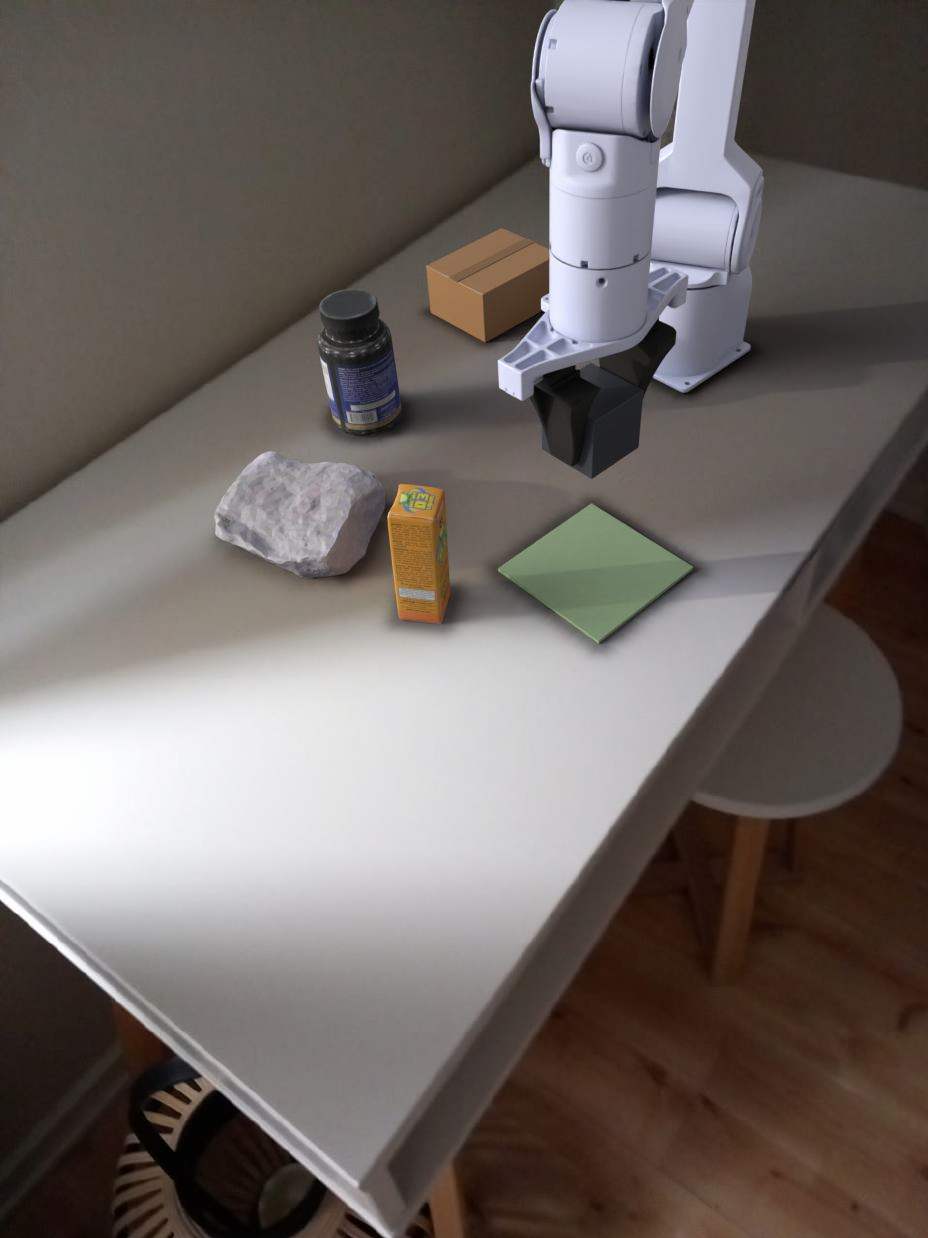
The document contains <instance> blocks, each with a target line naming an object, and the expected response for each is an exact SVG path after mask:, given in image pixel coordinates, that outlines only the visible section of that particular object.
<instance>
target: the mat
mask: <svg viewBox="0 0 928 1238" xmlns="http://www.w3.org/2000/svg"><path fill="white" fill-rule="evenodd" d="M693 570H694V566H693V565H691V564H689V563H688V562H686V561H685V560H683V559H681V558H680V557H678V556H676V555H675V554H674V553H672V552H670V551H668V550H667V549H666V548H664V547H662V546H661V545H659V544H657V543H656V542H654V541H653V540H651V539H649V538H648V537H646V536H645V535H643V534H641V533H640V532H638V531H636V529H633V528H632V527H630V526H628V525H627V524H626V523H624V522H623V521H621V520H619V519H618V518H616V517H614V516H613V515H611V514H609V513H608V512H606V511H605V510H603V509H601V508H600V507H598V506H597V505H595V504H594V503H592V502H591V503H590V504H588V505H587V506H585V507H584V508H582V509H581V510H580V511H578V512H577V513H575V514H574V515H573V516H571V517H569V518H568V519H567V520H565V521H564V522H562V523H561V524H560V525H558V526H557V527H555V528H554V529H553V530H551V531H550V532H547V534H545V535H543V536H542V537H541V538H540V539H538V540H536V541H535V542H534V543H532V544H531V545H529V546H527V548H525V549H524V550H522V551H520V552H519V553H518V554H517V555H515V556H514V557H512V558H510V559H509V560H508V561H506V562H505V563H503V564H502V565H501V566H499V567H497V571H498V572H499V573H500V574H501V575H503V576H504V577H506V578H507V579H509V580H510V581H511V582H513V584H515V585H517V586H518V587H519V588H521V589H522V590H524V592H526V593H528V594H529V595H530V596H532V597H533V598H534V599H536V600H537V601H538V602H540V603H541V604H542V605H544V606H546V607H547V608H548V609H549V610H551V611H552V612H554V613H555V614H557V615H558V616H560V617H561V618H562V619H564V620H565V621H566V622H568V623H569V624H570V625H572V626H573V627H575V628H576V629H577V630H579V631H580V632H581V633H583V634H584V635H585V636H586V637H589V638H590V639H591V640H593V642H595V643H597V644H600V643H602V642H603V641H604V640H606V639H607V638H608V637H609V636H610V635H612V634H613V633H615V632H616V631H617V630H618V629H620V628H621V627H622V626H623V625H624V624H626V623H627V622H628V621H630V620H631V619H632V618H633V617H635V616H636V615H637V614H639V613H640V612H641V611H642V610H644V609H645V608H646V607H647V606H649V605H650V604H651V603H653V602H654V601H655V600H657V599H658V598H659V597H660V596H661V595H663V593H666V592H667V591H668V590H669V589H670V588H672V587H674V586H675V584H677V583H678V582H680V581H681V580H682V579H683V578H685V577H686V576H687V575H688V574H689V573H691V572H692V571H693Z"/></svg>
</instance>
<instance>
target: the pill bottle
mask: <svg viewBox="0 0 928 1238" xmlns="http://www.w3.org/2000/svg"><path fill="white" fill-rule="evenodd" d="M318 310H319V317H320V321H321V324H322V325H323V327H322V328H321V330H320V331H319V333H318V336H317V348H318V355H319V358H320V364H321V369H322V373H323V378H324V383H325V388H326V393H327V397H328V403H329V406H330V411H331V416H332V421H333V424H334V425H335V426H336V427H337V428H338V429H339V430H340V431H343V432H344V433H347V434H350V435H353V436H363V437H364V436H372V435H378V434H381V433H384V432H386V431H388V430H390V429H392V427H394V426H395V425H396V424H397V423H398V422H399V420H400V419H401V417H402V399H401V394H400V393H401V392H400V386H399V378H398V372H397V365H396V358H395V353H394V352H395V350H394V344H393V338H392V334H391V330H390V327H389V326H388V324H387V323H385V322H384V321H383V320H382V319H381V318H380V312H381V311H380V308H379V301H378V299H377V297H376V295H375V294H374V293H373V292H371V291H369V290H366V289H362V288H346V289H341V290H337V291H334V292H332V293H330V294H328V295H327V296H325V297H324V298H323V299H322V300H321V301H320V303H319V307H318Z"/></svg>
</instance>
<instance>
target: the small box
mask: <svg viewBox="0 0 928 1238" xmlns="http://www.w3.org/2000/svg"><path fill="white" fill-rule="evenodd" d="M579 370H580V377H581V378H583V379H585V380H587V381H588V382H590V383H592V384H594V385H596V386H598V387H600V388H601V389H600V391H599V392H598V394H597V396H596V398H595V399H594V402H593V404H592V406H591V409H590V412H589V415H588V418H587V422H586V427H585V435H584V445H583V450H582V454H581V457H580V460H579V463H577V464H576V465H574V466H573V467H572V466H570V467H571V468H572V469H574V470H575V471H578V472H579V473H581V474H583V475H584V476H586V477H587V478H588V479H590V480H593V479H595V478H596V477H598V476H599V475H600V474H602V473H603V472H605V471H607V470H608V469H609V468H611V467H613V466H614V465H615V464H617V463H618V462H620V461H621V460H623V459H624V458H625V457H627V456H628V455H630V454H631V453H634V451H636V450H637V449H639V447H640V438H641V437H640V436H641V426H642V425H641V424H642V412H643V402H644V401H643V400H644V398H643V390H642V389H640V388H638V387H637V386H635V385H633V384H631V383H629V382H627V381H625V380H623V379H621V378H619V377H617V376H615V375H614V374H612V373H610V372H608V371H606V370H604V369H602V368H600V366H598V365H596V364H594V363H593V362H589V363H588V364H586V365H585V366H583V367H581V368H580V369H579ZM541 449H542V450H543V451H545V452H546V453H548V454H549V455H551V454H550V450H549V446H548V443H547V439H546V436H545V433H544V430H543V427H542V426H541Z"/></svg>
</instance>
